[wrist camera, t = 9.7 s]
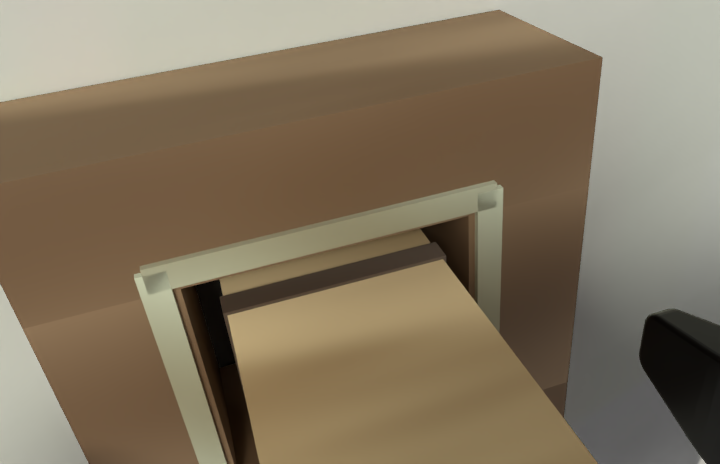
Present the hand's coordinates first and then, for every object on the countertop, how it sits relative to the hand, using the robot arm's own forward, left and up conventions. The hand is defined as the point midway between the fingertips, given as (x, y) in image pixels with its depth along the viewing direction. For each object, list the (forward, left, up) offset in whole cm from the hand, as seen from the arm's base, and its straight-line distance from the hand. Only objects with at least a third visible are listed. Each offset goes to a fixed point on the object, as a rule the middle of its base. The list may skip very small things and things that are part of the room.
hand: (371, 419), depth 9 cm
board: (0, 0, -4) cm, 4 cm away
